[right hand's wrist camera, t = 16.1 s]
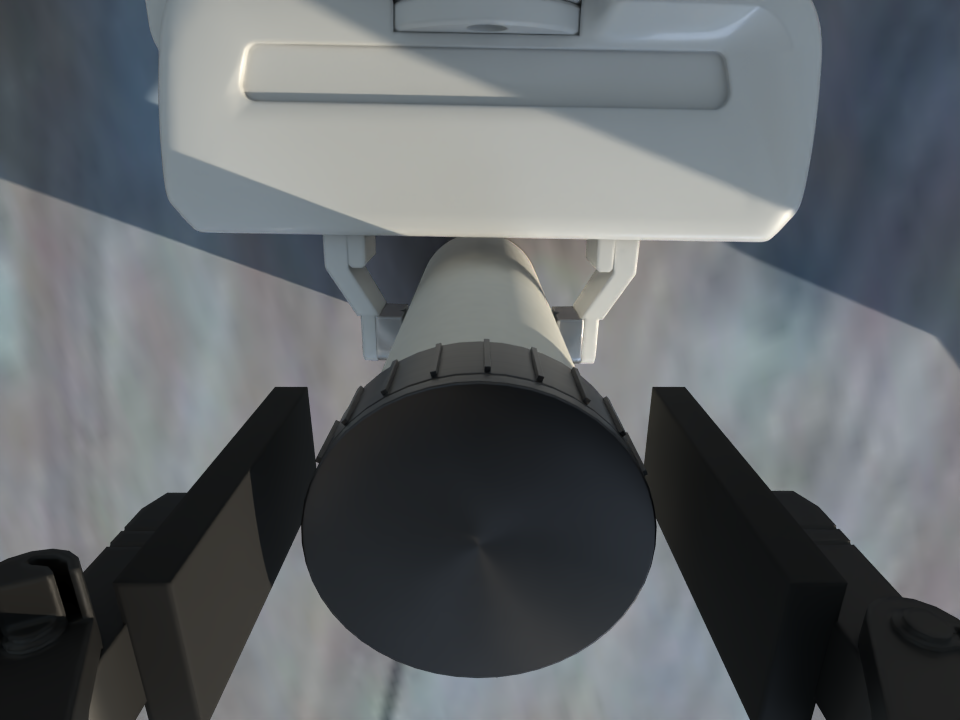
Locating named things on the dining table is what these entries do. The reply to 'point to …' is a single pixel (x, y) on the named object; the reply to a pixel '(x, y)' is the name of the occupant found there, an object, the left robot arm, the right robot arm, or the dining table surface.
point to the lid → (478, 512)
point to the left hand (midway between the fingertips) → (480, 357)
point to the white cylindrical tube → (479, 302)
